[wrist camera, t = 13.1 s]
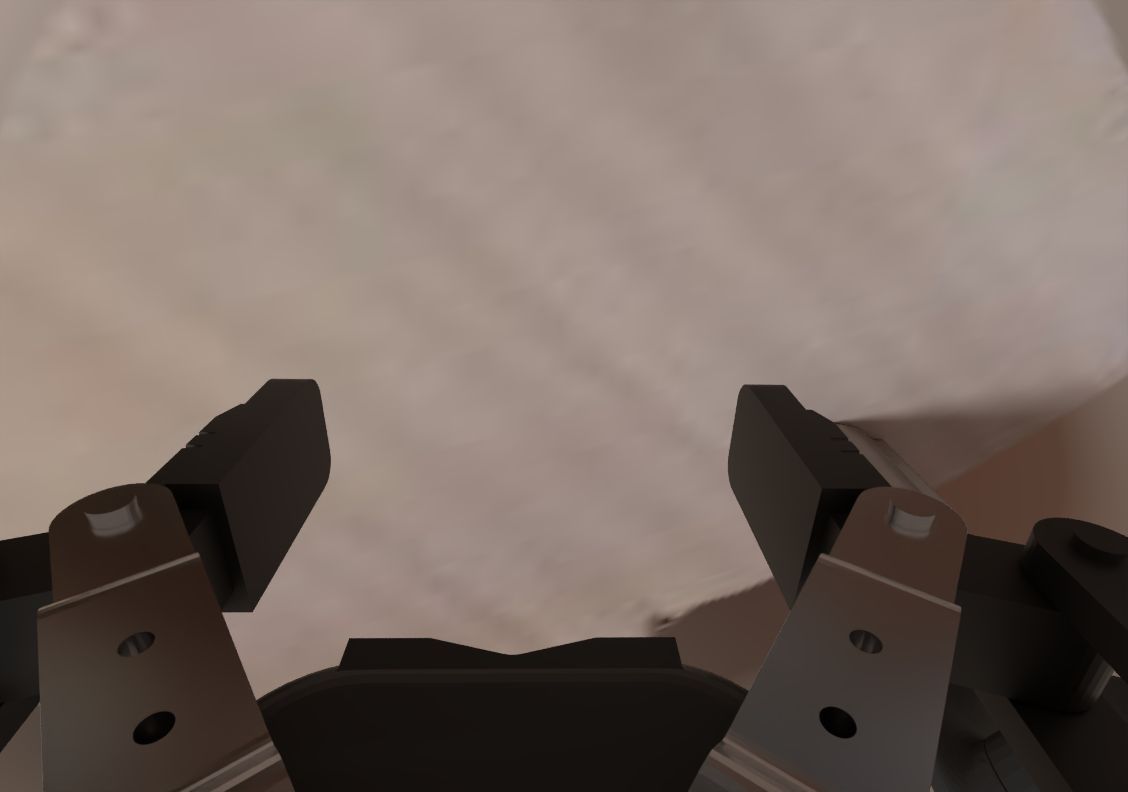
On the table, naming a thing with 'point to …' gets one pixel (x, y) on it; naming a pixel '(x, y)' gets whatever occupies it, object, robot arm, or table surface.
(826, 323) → the table surface
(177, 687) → the robot arm
